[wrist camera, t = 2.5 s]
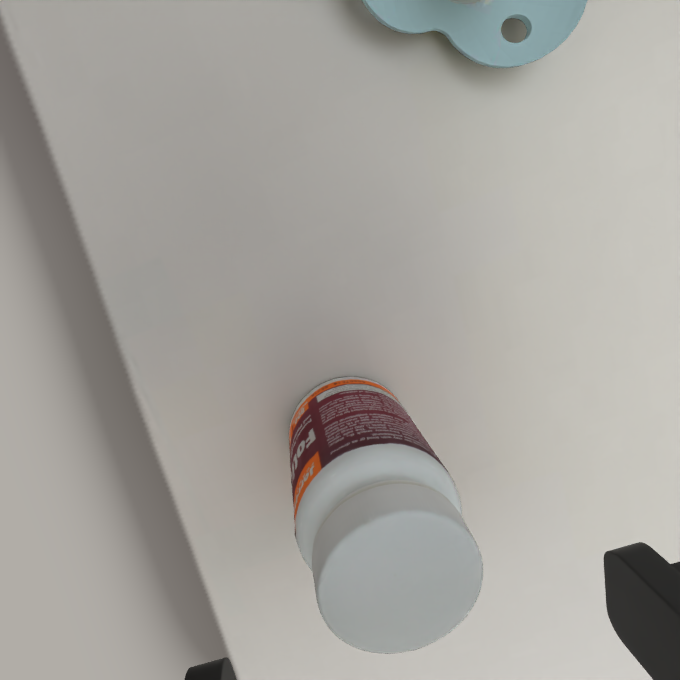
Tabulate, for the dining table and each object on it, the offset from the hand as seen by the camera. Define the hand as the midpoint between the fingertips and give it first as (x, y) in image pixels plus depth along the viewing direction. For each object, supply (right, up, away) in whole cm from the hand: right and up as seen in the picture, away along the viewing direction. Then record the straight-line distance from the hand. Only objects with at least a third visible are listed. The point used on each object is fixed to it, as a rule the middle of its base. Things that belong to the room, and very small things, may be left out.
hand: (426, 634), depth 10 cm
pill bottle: (-2, +2, +9) cm, 10 cm away
